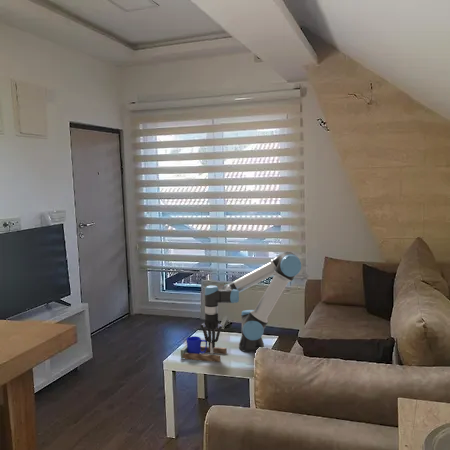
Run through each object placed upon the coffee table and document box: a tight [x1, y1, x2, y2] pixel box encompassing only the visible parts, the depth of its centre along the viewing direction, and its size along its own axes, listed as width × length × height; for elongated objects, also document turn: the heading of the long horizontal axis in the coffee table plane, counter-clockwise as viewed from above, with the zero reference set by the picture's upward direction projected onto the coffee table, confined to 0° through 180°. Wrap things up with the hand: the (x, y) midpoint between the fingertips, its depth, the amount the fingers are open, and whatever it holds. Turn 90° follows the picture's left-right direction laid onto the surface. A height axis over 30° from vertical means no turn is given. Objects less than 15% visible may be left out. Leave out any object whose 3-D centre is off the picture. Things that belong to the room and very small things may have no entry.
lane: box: [180, 344, 227, 363], centre depth 273 cm, size 23×15×5 cm, turn 75°
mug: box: [186, 335, 208, 354], centre depth 274 cm, size 8×12×10 cm
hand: (211, 353), depth 272 cm, fingers closed
